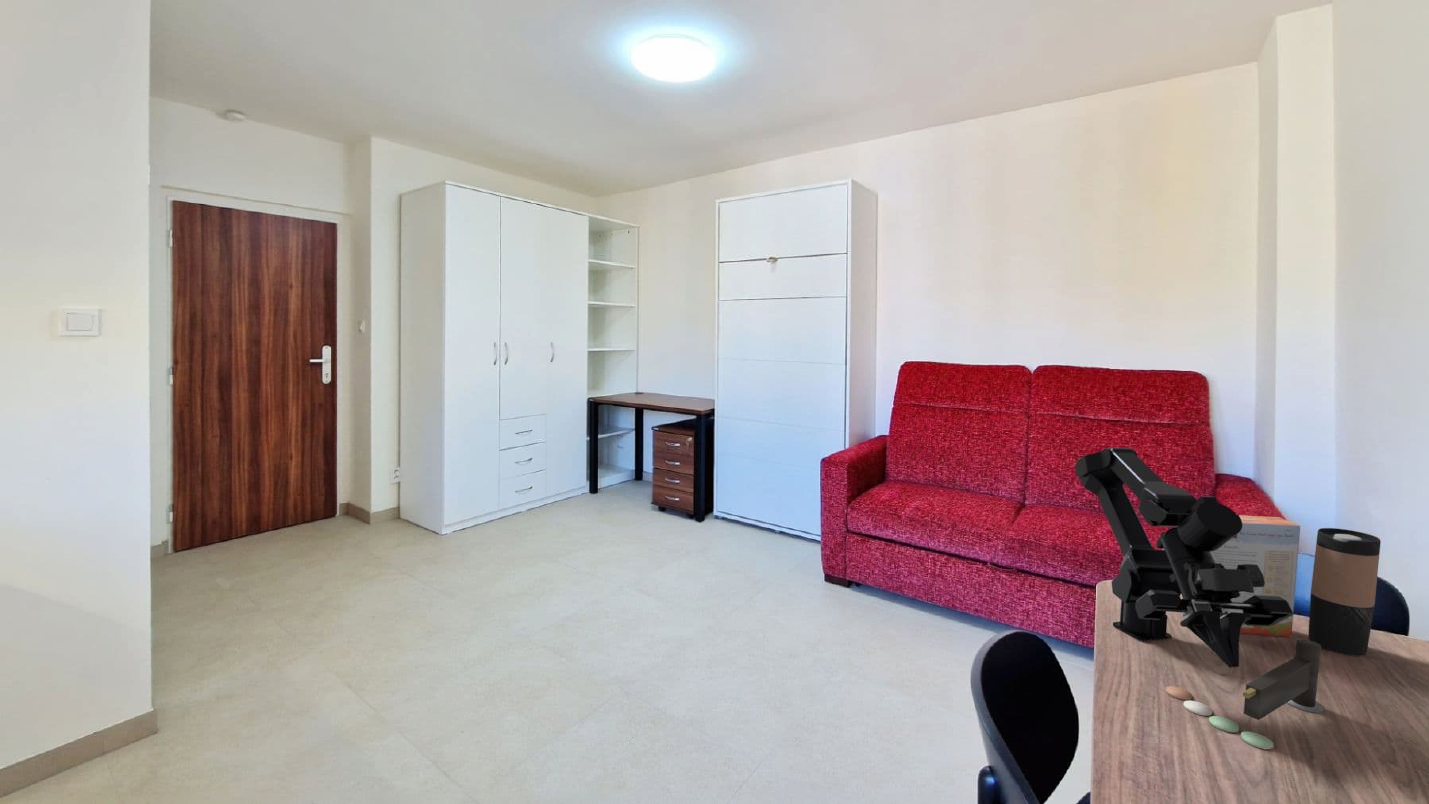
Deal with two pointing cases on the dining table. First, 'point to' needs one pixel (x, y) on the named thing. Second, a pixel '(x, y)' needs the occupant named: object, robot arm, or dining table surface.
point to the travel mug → (1343, 590)
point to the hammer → (1286, 682)
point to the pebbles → (1227, 724)
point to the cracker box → (1265, 563)
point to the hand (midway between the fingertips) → (1234, 667)
